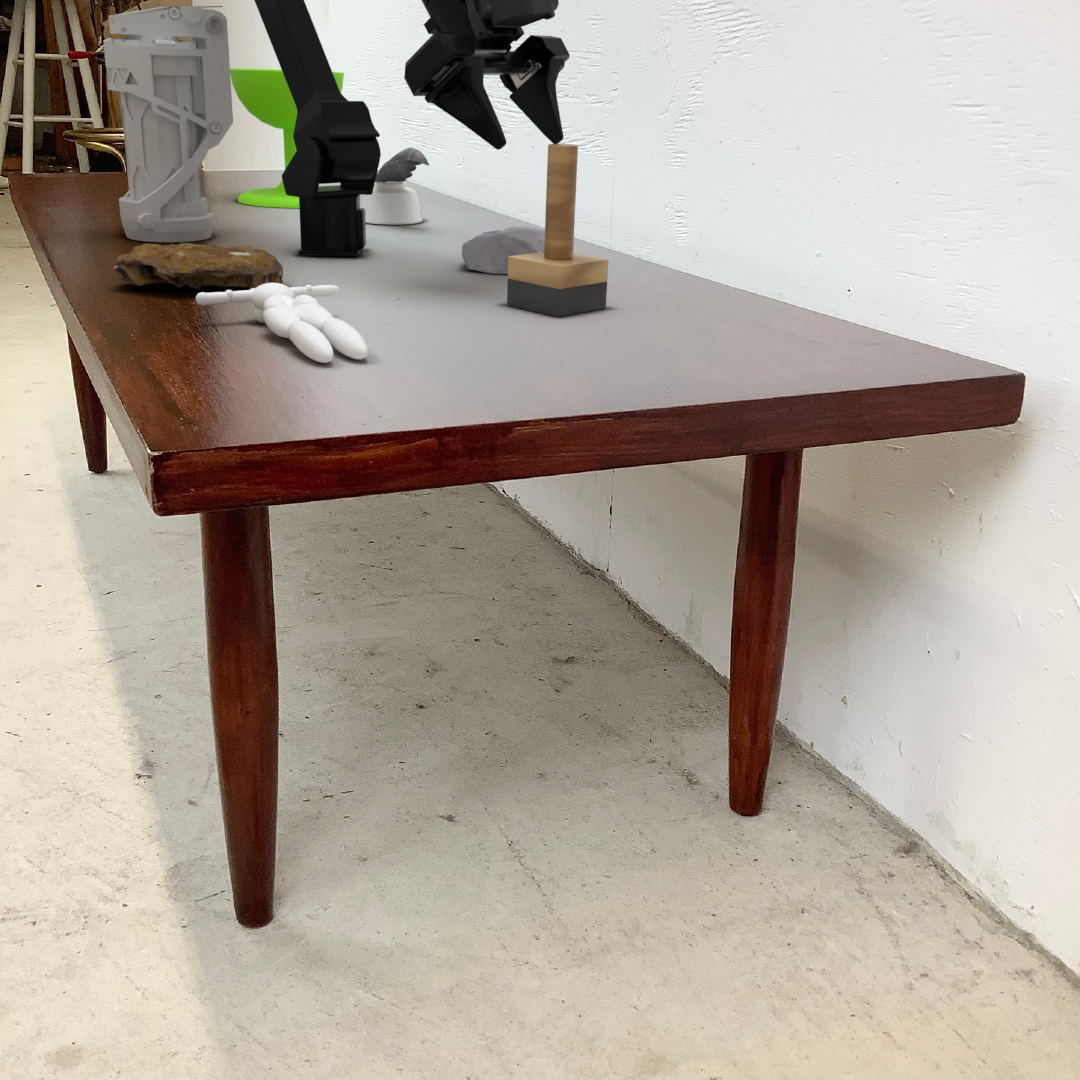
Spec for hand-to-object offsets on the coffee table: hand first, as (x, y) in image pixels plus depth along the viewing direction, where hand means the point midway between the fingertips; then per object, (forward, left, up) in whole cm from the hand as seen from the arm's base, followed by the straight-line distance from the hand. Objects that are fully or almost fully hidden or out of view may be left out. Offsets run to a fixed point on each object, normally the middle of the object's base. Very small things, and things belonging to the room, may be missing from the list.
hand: (531, 144), depth 108 cm
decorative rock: (-31, -4, -14) cm, 34 cm away
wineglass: (-33, +65, -14) cm, 75 cm away
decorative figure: (-18, -25, -14) cm, 33 cm away
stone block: (-1, +13, -14) cm, 19 cm away
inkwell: (-16, +43, -14) cm, 48 cm away
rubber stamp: (+2, -9, -13) cm, 16 cm away
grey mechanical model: (-40, +27, -14) cm, 51 cm away
